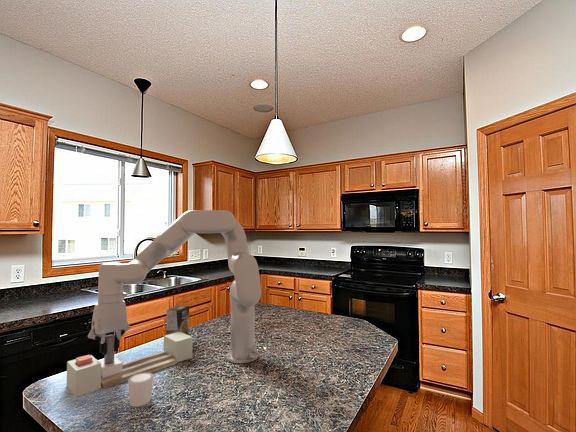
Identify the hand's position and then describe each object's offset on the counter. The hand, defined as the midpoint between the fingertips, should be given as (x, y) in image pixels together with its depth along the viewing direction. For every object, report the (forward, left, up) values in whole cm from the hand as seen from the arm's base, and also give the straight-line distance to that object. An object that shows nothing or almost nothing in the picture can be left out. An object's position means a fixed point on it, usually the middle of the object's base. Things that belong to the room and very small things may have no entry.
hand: (109, 351), depth 107 cm
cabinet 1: (0, +8, -9) cm, 12 cm away
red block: (0, +8, -4) cm, 8 cm away
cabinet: (0, -25, -9) cm, 27 cm away
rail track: (0, -9, -9) cm, 13 cm away
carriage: (0, 0, -7) cm, 7 cm away
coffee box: (+13, -32, -9) cm, 36 cm away
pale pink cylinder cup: (-22, -1, -9) cm, 24 cm away
